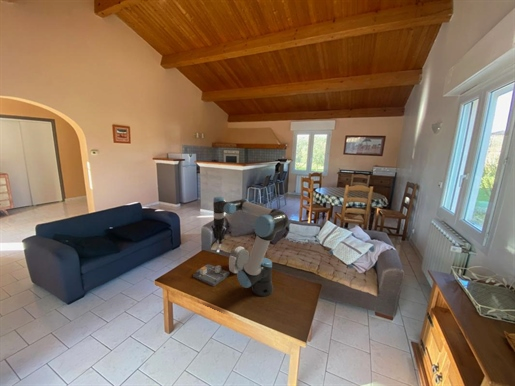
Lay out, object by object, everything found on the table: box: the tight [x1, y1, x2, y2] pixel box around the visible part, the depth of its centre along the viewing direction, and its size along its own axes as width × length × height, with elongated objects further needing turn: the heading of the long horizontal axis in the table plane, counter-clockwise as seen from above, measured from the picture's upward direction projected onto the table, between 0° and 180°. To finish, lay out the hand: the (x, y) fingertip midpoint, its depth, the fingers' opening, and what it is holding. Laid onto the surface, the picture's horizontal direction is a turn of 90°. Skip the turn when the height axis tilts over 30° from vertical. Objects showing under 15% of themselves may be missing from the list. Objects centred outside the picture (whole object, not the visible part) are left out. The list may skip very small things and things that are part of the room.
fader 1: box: [199, 265, 207, 275], centre depth 167 cm, size 3×4×4 cm
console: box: [192, 264, 231, 287], centre depth 169 cm, size 21×18×4 cm
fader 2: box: [215, 264, 222, 273], centre depth 170 cm, size 3×4×4 cm
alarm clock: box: [228, 246, 250, 275], centre depth 176 cm, size 18×8×20 cm, turn 144°
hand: (219, 247), depth 164 cm, fingers closed
